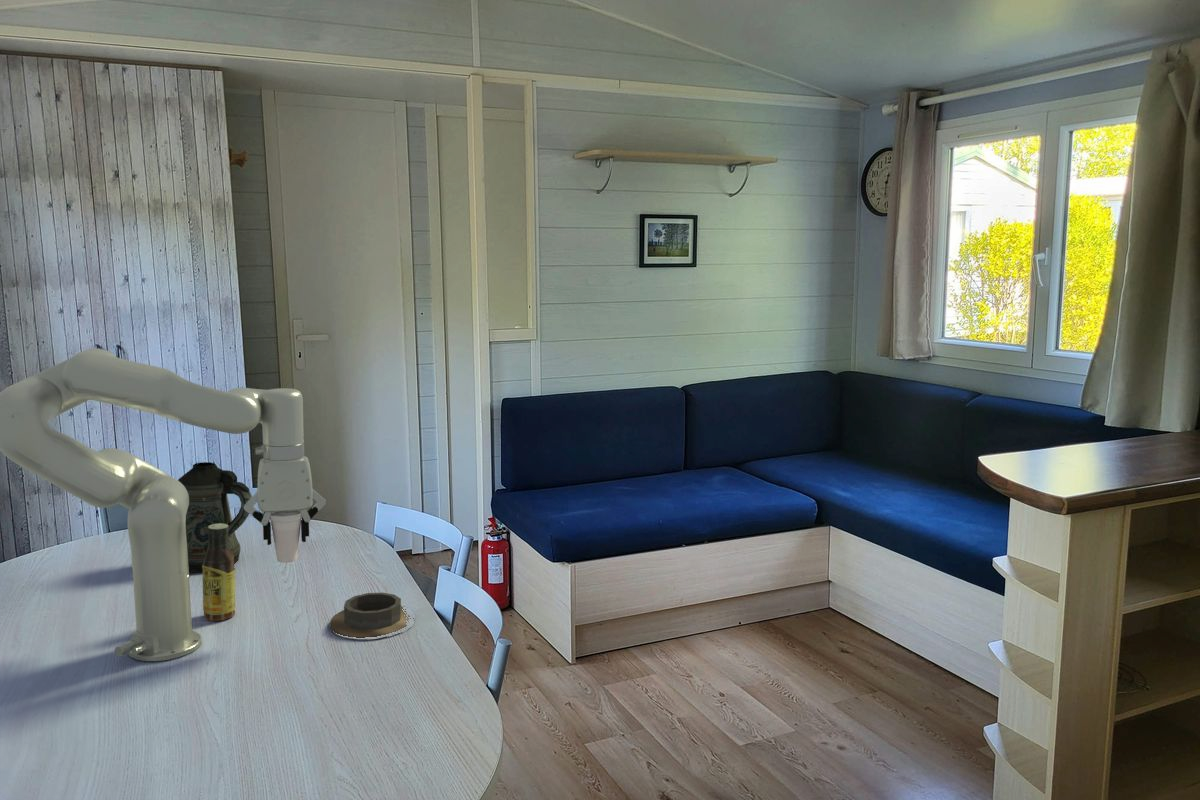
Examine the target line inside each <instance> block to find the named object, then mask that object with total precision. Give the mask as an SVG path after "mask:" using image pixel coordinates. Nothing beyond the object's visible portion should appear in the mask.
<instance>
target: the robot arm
mask: <svg viewBox="0 0 1200 800" xmlns="http://www.w3.org/2000/svg"><path fill="white" fill-rule="evenodd" d="M88 401H93V402H94V401H95V402H99V403H103V404H109V405H114V406H118V407H123V408H127V409H133V410H137V411H141V412H145V413H150V414H154V415H157V416H160V417H162V418H165V419H169V420H174V421H177V422H180V423H183V424H187V425H189V426H193V427H194V426H195V427H197V428H203V429H207V430H212V431H217V432H222V433H226V434H233V435H240V434H241V435H242V434H246V433H249V432H251V431H252V430H254V429H255V428H256V427H257V425H258V424H261V425H262V426H261V427H262V445H261V446H259V447H255V449H254V450H255V455H259V456H261V457H263V458H261V459H260V460H259V463H258V469H257V483H256V484H257V486H256V488H257V490H256V492H255V493H254V494H253V495H252V497H251V499H250V500H249V501H248V502H247V503H246V504H245V505H244V510H245V511H247V512H248V513H249V515H250V516H252V517H253V518H254V519H255V520H257V521H258V522H259V523H260V524H261V525H262V532H263V536H262V537H263V538H262V539H263V541H266V542H267V543H266V544H267V546H271V545H272V525H271V521H270V516H271V513H272V512H283V511H297V510H300V512H301V514H302V518H301V526H300V534H301V535H300V537H301V542H303V543H307V542H306V539H307V537H310V522H311V520H312V518H314V516H315V515H316V514H318V512H319V511H320V510H322V508H324V506H326V504H327V501H326V499H325V498H324V497H323V496H322V495H321V494H320V493H319V492H317V491H316V490H315V489H314V488H313V479H312V477H313V476H312V470H311V466H310V464H311V463H310V460H309V458H308V457H307V456H305V441H304V440H305V439H304V438H305V437H304V432H305V431H304V399H303V394H302V392H301V391H300V390H298V389H296V388H289V387H288V388H285V387H282V388H271V389H260V388H259V389H258V388H250V387H235V388H231V389H230V390H228V391H225V390H222V389H217V388H212V387H208V386H205V385H201V384H198V383H195V382H193V381H190V380H187V379H186V378H183V377H182V376H180V375H179V374H177V373H176V372H175V371H172V370H170V369H167V368H165V367H160V366H156V365H152V364H146V363H141V362H137V361H133V360H128V359H124V358H121V357H117V356H116V355H115V354H114V353H112V352H110V351H109V350H106V349H103V348H98V347H97V348H95V347H94V348H93V347H92V348H87V349H85V350H82V351H80V352H78V353H76V354H74V355H73V356H71V357H70V358H68V359H66V360H64V361H62V362H59V363H57V364H55V365H52V366H50V367H48V368H46V369H44V370H41V371H40V372H38V373H35V374H32V375H31V376H29V377H27V378H24V379H22V380H20V381H17V382H16V383H13V384H11V385H9V386H7V387H6V388H4V389H3V390H1V392H0V452H1V453H2V454H3V456H5V457H7V458H8V459H9V460H10V461H11V462H13V463H14V464H16V465H18V466H20V467H21V468H23V469H25V470H27V471H29V472H31V473H33V474H34V475H36V476H38V477H40V478H41V479H44V480H45V481H47V482H49V483H51V484H52V485H54V486H55V487H58V488H59V489H61V490H63V491H65V492H67V493H68V494H70V495H72V496H73V497H76V498H78V499H79V500H81V501H83V502H85V503H87V504H88V505H90V506H93V507H96V508H104V509H106V508H111V507H114V506H116V505H121V506H122V507H123V508H125V509H128V512H127V531H128V533H127V534H128V540H129V545H130V553H131V568H132V579H133V597H134V612H135V627H136V630H134V631H133V632H131V638H130V639H128V641H127V642H124V643H122V644H119V645H118V646H115V648H114V654H115V655H116V656H117V657H123V656H125V655H126V654H128V655H129V657H130V658H132V659H133V660H136V661H141V662H162V661H169V660H173V659H177V658H180V657H183V656H186V655H188V654H190V653H193V652H194V651H196V650H197V649H198V648H200V646H201V644H202V636H201V634H199V632H197V631H194V630H193V626H192V625H193V624H192V607H191V587H190V573H189V566H188V550H187V538H186V514H187V509H188V506H189V495H188V492H187V490H186V488H185V487H184V486H183V484H182V483H180V482H179V481H178V479H176V478H175V477H173V476H171V474H168V473H167V472H164V471H163V470H161V469H159V468H157V467H155V466H153V465H152V464H150V463H148V462H147V461H145V460H143V459H142V458H139V457H138V456H136V455H134V454H132V453H130V452H128V451H127V450H123V449H119V448H113V447H112V448H111V447H110V448H104V449H100V450H95V449H93V448H92V447H89V446H88V445H85V444H84V443H82V442H81V441H79V440H77V439H75V438H74V437H71V436H70V435H68V434H65V433H62V432H60V431H58V430H56V429H54V428H53V427H52V426H51V425H50V423H49V422H50V421H51V420H52V419H53V418H56V417H58V416H59V415H62V414H64V413H65V412H67V411H70V410H72V409H74V408H76V407H78V406H80V405H81V404H82V405H83V404H84V403H86V402H88ZM313 500H315V502H316V503H314V505H313ZM256 504H257V508H258V509H256V508H255V507H254V506H255V505H256ZM308 509H309V510H308ZM262 512H263V513H262Z"/></svg>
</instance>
